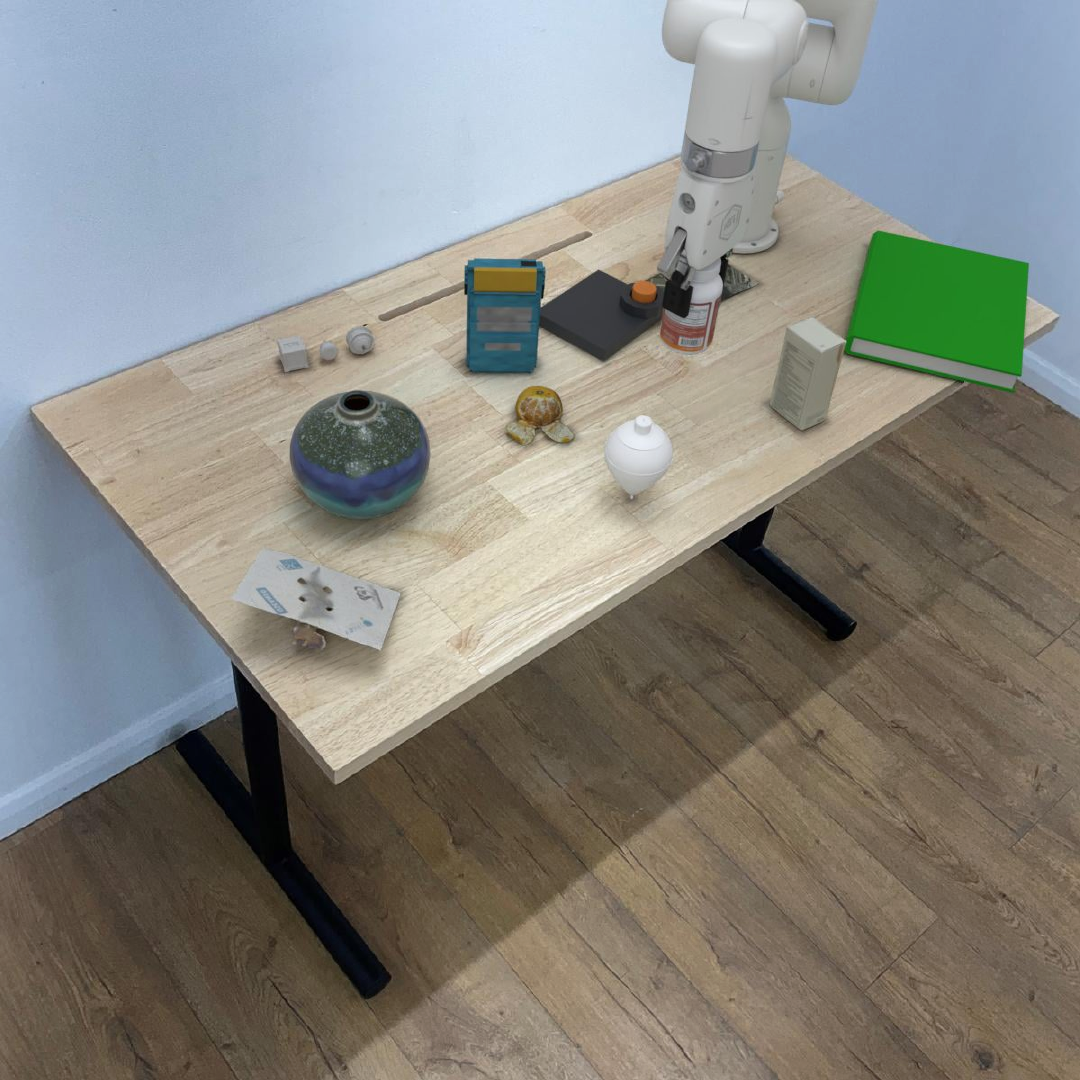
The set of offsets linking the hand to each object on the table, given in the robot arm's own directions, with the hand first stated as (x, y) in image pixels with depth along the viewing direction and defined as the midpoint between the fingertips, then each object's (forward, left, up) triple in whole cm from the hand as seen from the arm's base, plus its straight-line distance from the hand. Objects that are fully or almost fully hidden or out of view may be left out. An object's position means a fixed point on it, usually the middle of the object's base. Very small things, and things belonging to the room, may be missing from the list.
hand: (692, 297), depth 131 cm
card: (+53, -9, -19) cm, 57 cm away
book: (-45, +14, -19) cm, 51 cm away
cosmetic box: (-13, +10, -19) cm, 25 cm away
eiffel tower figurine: (-27, -15, -19) cm, 36 cm away
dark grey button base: (-11, -20, -19) cm, 30 cm away
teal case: (+6, -23, -19) cm, 30 cm away
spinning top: (+14, +4, -19) cm, 24 cm away
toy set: (+21, -38, -17) cm, 47 cm away
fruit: (+12, -12, -19) cm, 25 cm away
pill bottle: (0, 0, -6) cm, 6 cm away
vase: (+34, -19, -19) cm, 43 cm away
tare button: (-16, -16, -16) cm, 28 cm away
